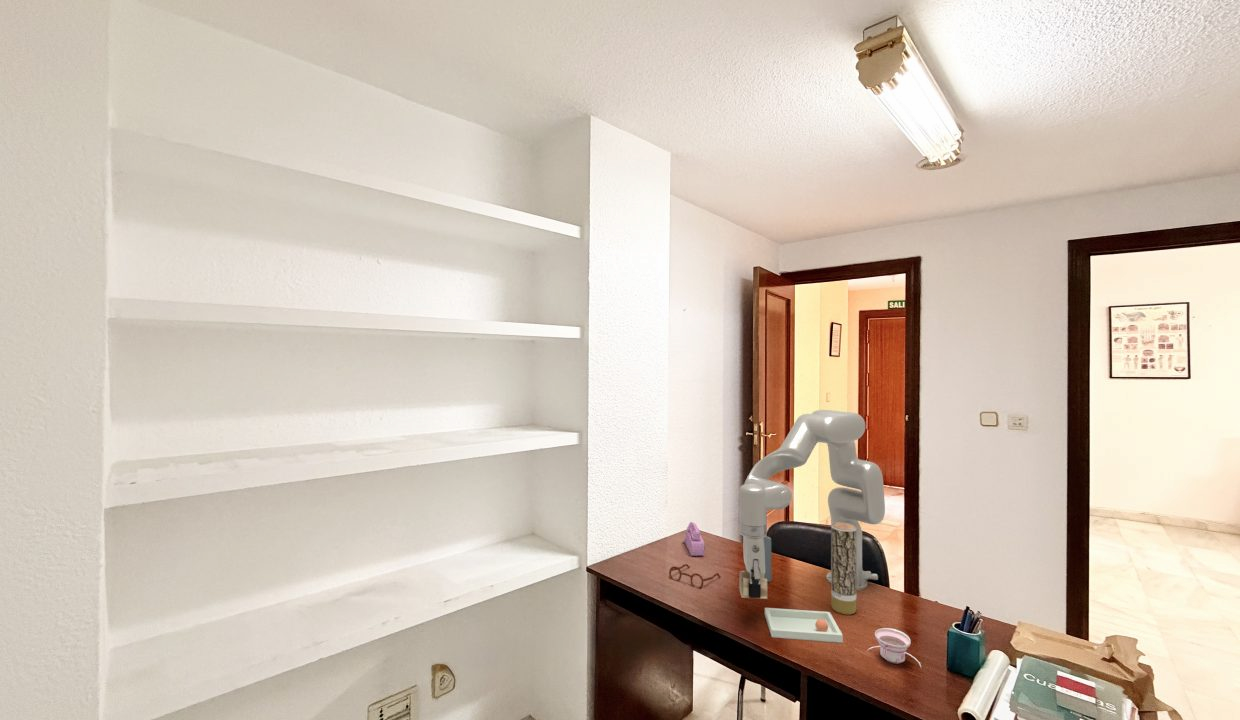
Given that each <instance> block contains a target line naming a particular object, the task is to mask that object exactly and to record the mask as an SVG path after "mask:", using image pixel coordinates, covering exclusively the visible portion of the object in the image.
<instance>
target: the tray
mask: <svg viewBox="0 0 1240 720" xmlns="http://www.w3.org/2000/svg"><path fill="white" fill-rule="evenodd" d="M764 617H765V620H766V624H767V628H768V630H769V633H770V637H771V638H776V639H778V638H779V639H787V640H788V639H789V640H800V641H801V640H802V641H814V642H822V643H823V642H824V643H837V644H843V642H844V641H843V640H844V637H843V636H844V635H843V633H842V631H841V629H840V628H839V626H838V624H837V622H836V620H835V619H834V617H833V615H832V613H831V612H830V611H821V610H820V611H819V610H807V609H805V610H804V609H803V610H802V609H790V608H777V607H776V608H775V607H764ZM818 619H823V620H825V621H826V622H827V624H828V629H827V631H826V632H820V631H818V630H817V628H816V626H815V623H816V621H817V620H818Z"/></svg>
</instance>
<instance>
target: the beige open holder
mask: <svg viewBox="0 0 1240 720" xmlns="http://www.w3.org/2000/svg"><path fill="white" fill-rule="evenodd" d="M751 572H754V571H751ZM738 577H739V579H738V581H739V583H738V584H739V585H738V586H739V589H738V590H739V592H740V596H741V598H744V599H745V598H746V599H751V598H750V597H749V583H750V577H749V572H748V571H746V570H739V575H738ZM752 577H754V574H752ZM760 584H761V597H760V598H759V599H761V600H762V599H765V600H768V582H767V579H764V574H763V573H761V572H760Z"/></svg>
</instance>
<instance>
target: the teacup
mask: <svg viewBox="0 0 1240 720" xmlns="http://www.w3.org/2000/svg"><path fill="white" fill-rule="evenodd" d="M874 637H875V638H876V640H877V641H878V645H876V646H872V647H869V648H868V649H867V651H869V650H870V649H873V648H880V649H879V650H880V651H879V652H880V656H881V657H882V658H883V659H885V660H886V661H887V662H889V663H892V664H896V665H897V664H901V663H904V662H905V661H906V655H908V656H910V657H911V658H913V659H914V660H915V661H916V662H917V663H918V664H919V666H920V667H922V665H921V662H920V661H919V660H918V659H917V658H916V657H915V656H913V655H912V654H911V653H909V652H907V651H908V648H909V647H910V646H911V642H912V641H911V638H910V636H909V635H908V634H906V633H905V632H903V631H901V630H898V629H895V628H890V627H882V628H878V629H876V630H875V632H874ZM885 660H884V661H885Z"/></svg>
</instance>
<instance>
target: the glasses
mask: <svg viewBox="0 0 1240 720" xmlns="http://www.w3.org/2000/svg"><path fill="white" fill-rule="evenodd" d="M685 567H687V568H688V569H690V568H691V566H690V565H689V564H688V563H685V564H682V565H681V566H675V565H674V566H671V567H670V569H669V570H668V571H669V572H668V573H669V575H668V576H669V578H670V580H673V581H676V582H680V581H681V579H682V576H686V577H688V578H690V585H691V586H692V588H696V589H699V590H700V589H702V588H703V587H704V582H706V581H710V580H713V579H714V578H715V577H716V576H717V577H718V578H719V579H720V578H722V577H721V574H719V573H718V572H716V573H714V574H713V575H712V576H709V577H705V578H703V576H702V575H701V574H700V573H693V574H689V573H687V572H682V571H681V569H683V568H685ZM673 571H678V574H679V577H678V579H674V577H673V576H672V572H673ZM696 576H697V577H699V578H700V580H701V582H700V586H699V587H698V586H696V585H694V582H693V578H694V577H696Z"/></svg>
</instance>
